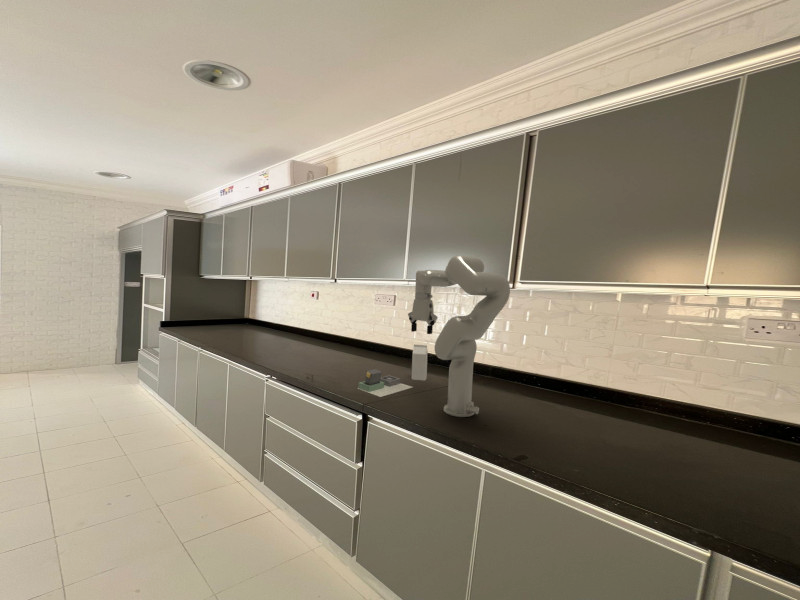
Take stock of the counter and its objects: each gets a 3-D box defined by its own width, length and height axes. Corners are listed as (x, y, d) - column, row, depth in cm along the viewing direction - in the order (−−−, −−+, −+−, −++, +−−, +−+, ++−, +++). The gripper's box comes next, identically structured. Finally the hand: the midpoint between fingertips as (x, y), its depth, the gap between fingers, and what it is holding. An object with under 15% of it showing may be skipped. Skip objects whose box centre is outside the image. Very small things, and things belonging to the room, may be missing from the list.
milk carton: (424, 382, 182) (426, 346, 181) (411, 381, 184) (412, 345, 183) (426, 379, 189) (427, 344, 188) (413, 377, 191) (414, 343, 190)
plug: (379, 387, 167) (381, 372, 166) (368, 390, 162) (370, 374, 161) (373, 384, 170) (376, 369, 168) (362, 387, 165) (365, 371, 163)
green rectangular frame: (384, 387, 167) (384, 382, 167) (369, 391, 160) (369, 386, 160) (373, 384, 172) (373, 379, 172) (358, 388, 165) (358, 382, 165)
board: (413, 389, 170) (413, 382, 170) (380, 399, 154) (380, 391, 154) (389, 382, 181) (390, 375, 181) (356, 390, 165) (357, 383, 165)
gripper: (442, 297, 162) (440, 334, 163) (414, 295, 174) (413, 329, 175) (432, 297, 157) (431, 335, 158) (404, 295, 169) (402, 331, 170)
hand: (421, 332), depth 167 cm, fingers open, 9 cm apart
